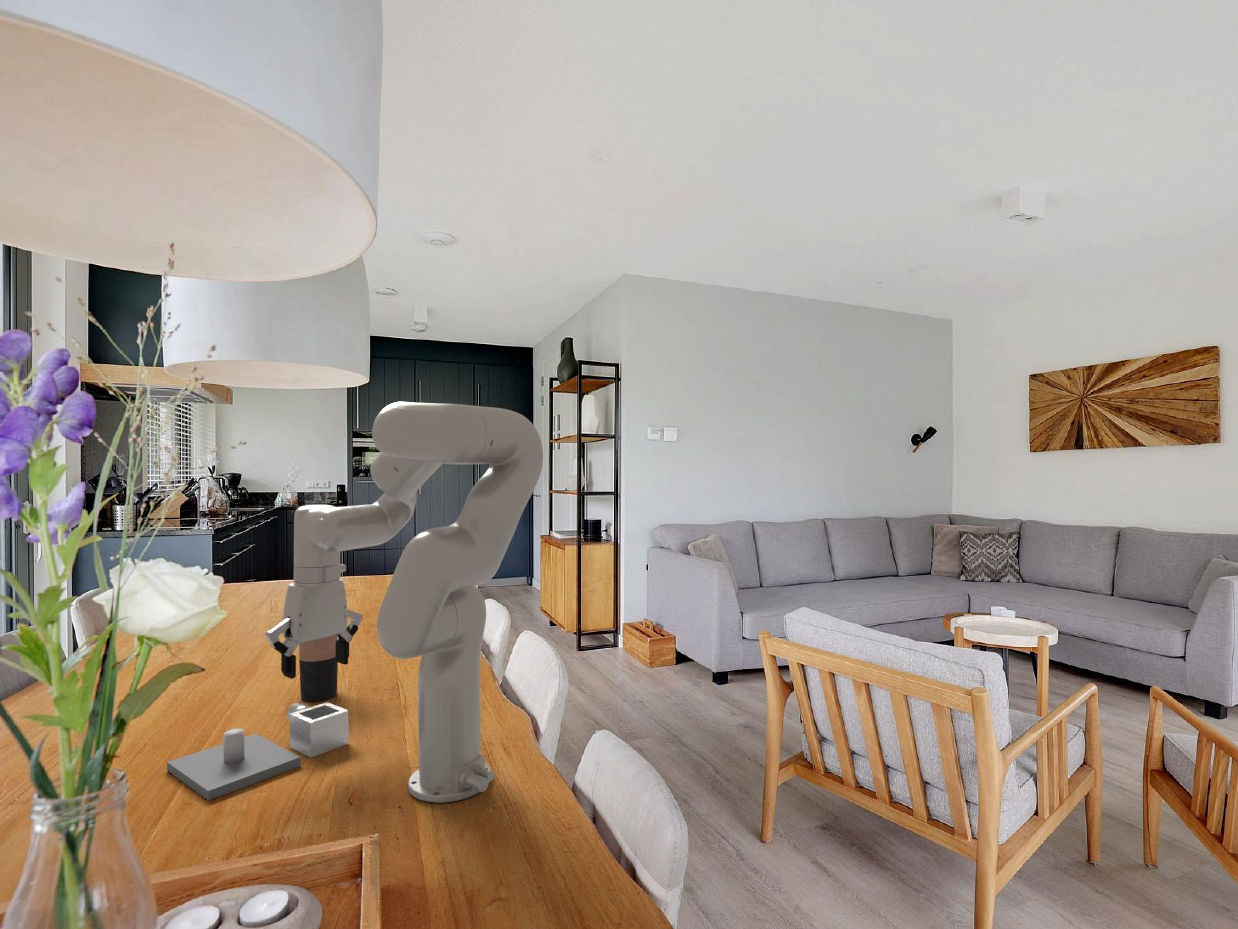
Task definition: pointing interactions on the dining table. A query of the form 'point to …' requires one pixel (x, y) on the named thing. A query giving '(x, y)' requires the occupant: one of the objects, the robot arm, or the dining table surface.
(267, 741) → the plate
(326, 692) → the travel mug
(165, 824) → the dining table surface
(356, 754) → the dining table surface
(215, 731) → the dining table surface
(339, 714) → the grey hollow block
